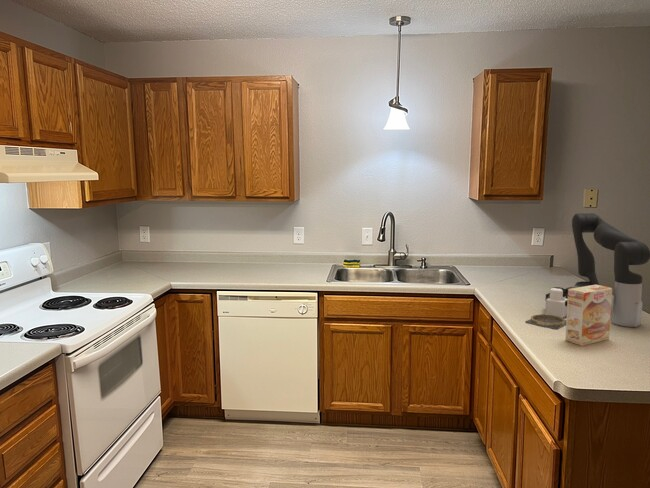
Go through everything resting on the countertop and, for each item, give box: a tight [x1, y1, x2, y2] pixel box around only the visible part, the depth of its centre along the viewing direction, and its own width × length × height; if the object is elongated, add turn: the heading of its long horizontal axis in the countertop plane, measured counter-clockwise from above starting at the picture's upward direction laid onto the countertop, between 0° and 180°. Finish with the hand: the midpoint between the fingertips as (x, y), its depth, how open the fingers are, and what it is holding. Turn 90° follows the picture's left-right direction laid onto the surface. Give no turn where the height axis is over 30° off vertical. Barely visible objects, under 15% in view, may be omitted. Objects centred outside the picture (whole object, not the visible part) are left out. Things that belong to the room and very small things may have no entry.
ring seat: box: [525, 313, 567, 330], centre depth 193 cm, size 13×13×2 cm
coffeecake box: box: [565, 284, 614, 347], centre depth 171 cm, size 15×7×20 cm, turn 114°
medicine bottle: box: [544, 286, 568, 319], centre depth 202 cm, size 7×7×12 cm
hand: (556, 301), depth 201 cm, fingers closed on medicine bottle, 7 cm apart
